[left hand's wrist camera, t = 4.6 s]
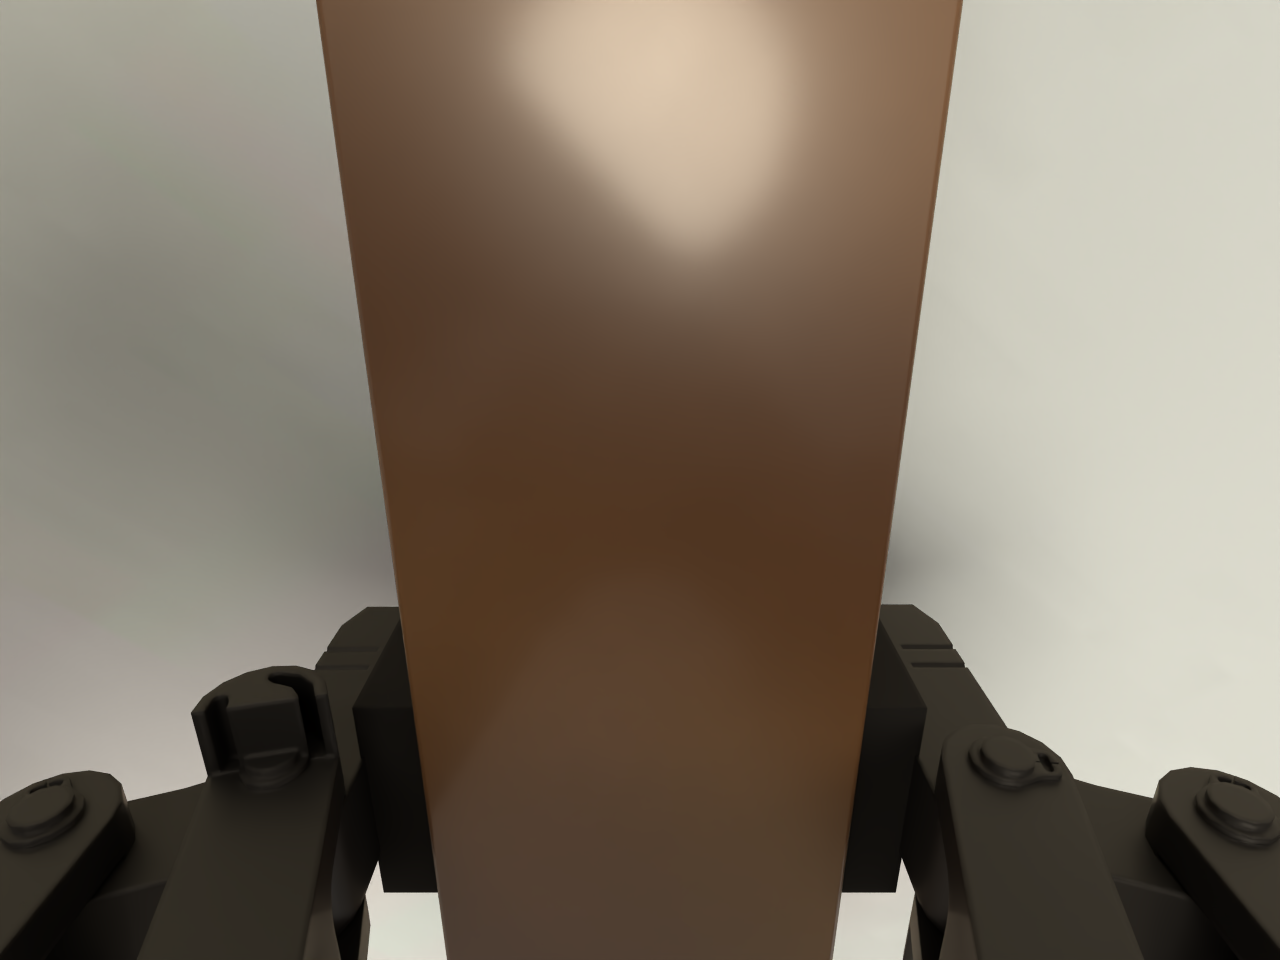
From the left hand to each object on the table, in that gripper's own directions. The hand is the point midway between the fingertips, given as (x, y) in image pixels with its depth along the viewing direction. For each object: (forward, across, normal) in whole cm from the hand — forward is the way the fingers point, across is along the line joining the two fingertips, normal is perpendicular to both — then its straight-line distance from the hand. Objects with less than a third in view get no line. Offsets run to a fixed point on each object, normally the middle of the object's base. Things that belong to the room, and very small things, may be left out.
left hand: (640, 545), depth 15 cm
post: (0, 0, -34) cm, 35 cm away
